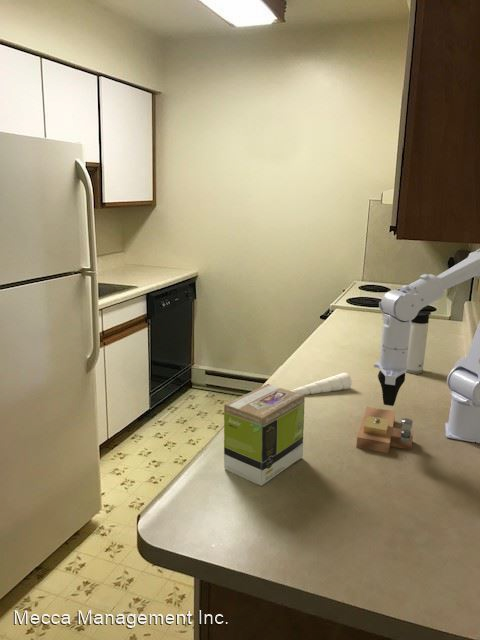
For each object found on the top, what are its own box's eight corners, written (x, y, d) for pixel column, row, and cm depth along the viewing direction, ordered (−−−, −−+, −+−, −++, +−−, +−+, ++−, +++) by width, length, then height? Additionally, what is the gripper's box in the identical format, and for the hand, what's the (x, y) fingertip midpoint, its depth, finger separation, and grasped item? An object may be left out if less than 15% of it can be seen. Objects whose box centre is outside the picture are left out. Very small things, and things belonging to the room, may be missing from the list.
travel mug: (425, 375, 160) (432, 314, 155) (403, 373, 161) (410, 312, 156) (422, 368, 166) (429, 310, 161) (401, 366, 167) (407, 308, 162)
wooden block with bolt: (388, 425, 118) (389, 418, 117) (386, 436, 112) (386, 428, 112) (366, 421, 119) (367, 414, 119) (363, 432, 114) (364, 424, 114)
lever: (401, 423, 115) (402, 414, 114) (412, 425, 114) (413, 416, 113) (398, 442, 106) (400, 432, 105) (410, 444, 105) (412, 434, 104)
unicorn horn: (270, 394, 142) (271, 378, 141) (343, 385, 150) (344, 370, 149) (277, 400, 138) (278, 383, 136) (352, 391, 146) (353, 375, 145)
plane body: (413, 423, 125) (415, 407, 124) (410, 457, 108) (412, 439, 107) (366, 415, 129) (367, 400, 128) (356, 447, 112) (357, 429, 111)
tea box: (265, 443, 113) (268, 381, 109) (303, 458, 107) (307, 394, 103) (221, 469, 102) (223, 402, 98) (261, 488, 96) (264, 417, 92)
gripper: (378, 335, 116) (373, 390, 120) (372, 353, 103) (367, 414, 106) (410, 339, 114) (404, 394, 117) (408, 357, 101) (401, 419, 104)
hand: (388, 404), depth 112 cm, fingers closed
